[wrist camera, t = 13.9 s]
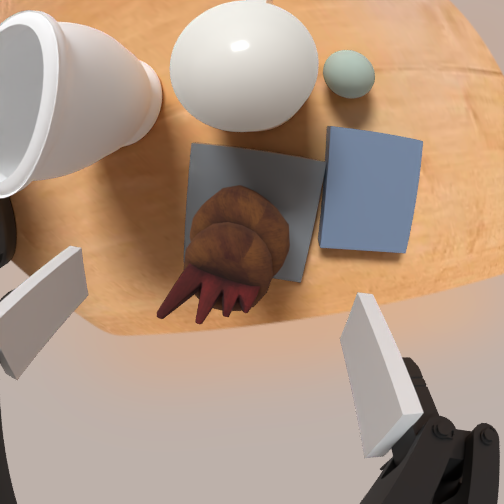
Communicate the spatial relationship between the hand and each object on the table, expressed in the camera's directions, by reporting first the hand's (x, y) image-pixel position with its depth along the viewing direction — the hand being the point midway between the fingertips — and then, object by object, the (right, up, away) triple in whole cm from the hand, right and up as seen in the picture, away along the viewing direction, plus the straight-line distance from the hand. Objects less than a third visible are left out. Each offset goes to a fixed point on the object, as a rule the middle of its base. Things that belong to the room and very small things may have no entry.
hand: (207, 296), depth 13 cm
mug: (+2, +17, +8) cm, 19 cm away
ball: (+9, +16, +7) cm, 20 cm away
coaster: (+2, +5, +13) cm, 14 cm away
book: (+12, +8, +11) cm, 18 cm away
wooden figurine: (+2, +5, +12) cm, 13 cm away
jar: (-10, +16, +10) cm, 21 cm away
